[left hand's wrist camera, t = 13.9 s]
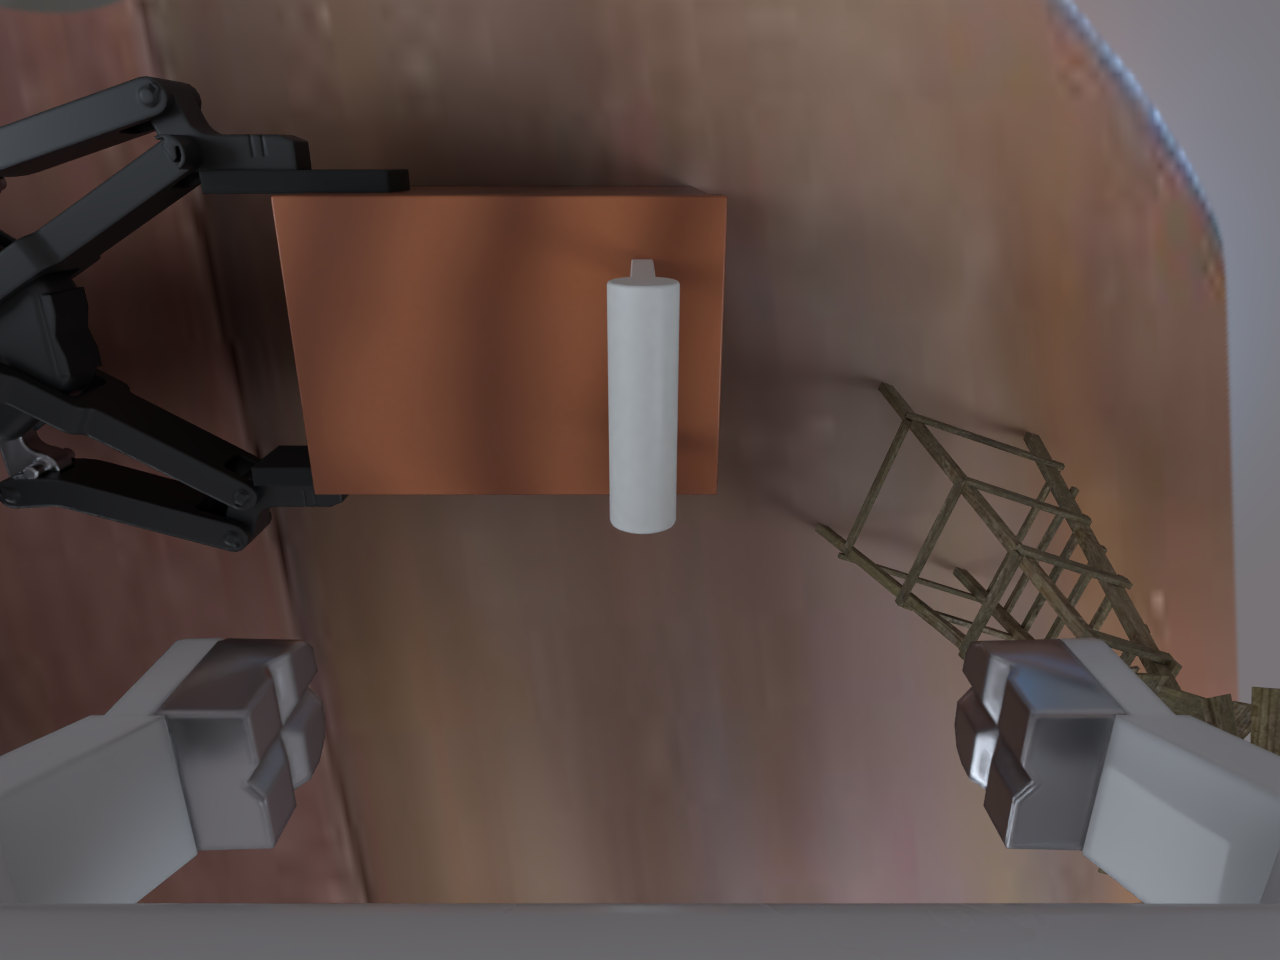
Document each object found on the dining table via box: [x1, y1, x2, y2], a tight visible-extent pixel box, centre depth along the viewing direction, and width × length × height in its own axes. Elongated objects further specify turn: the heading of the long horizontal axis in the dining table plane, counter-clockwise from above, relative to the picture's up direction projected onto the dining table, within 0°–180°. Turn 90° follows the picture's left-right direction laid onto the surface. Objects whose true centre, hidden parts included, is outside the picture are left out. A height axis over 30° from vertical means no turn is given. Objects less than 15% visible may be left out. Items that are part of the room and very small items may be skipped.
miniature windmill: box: [815, 382, 1280, 875], centre depth 28 cm, size 9×8×30 cm
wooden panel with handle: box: [271, 194, 728, 534], centre depth 25 cm, size 14×10×9 cm
